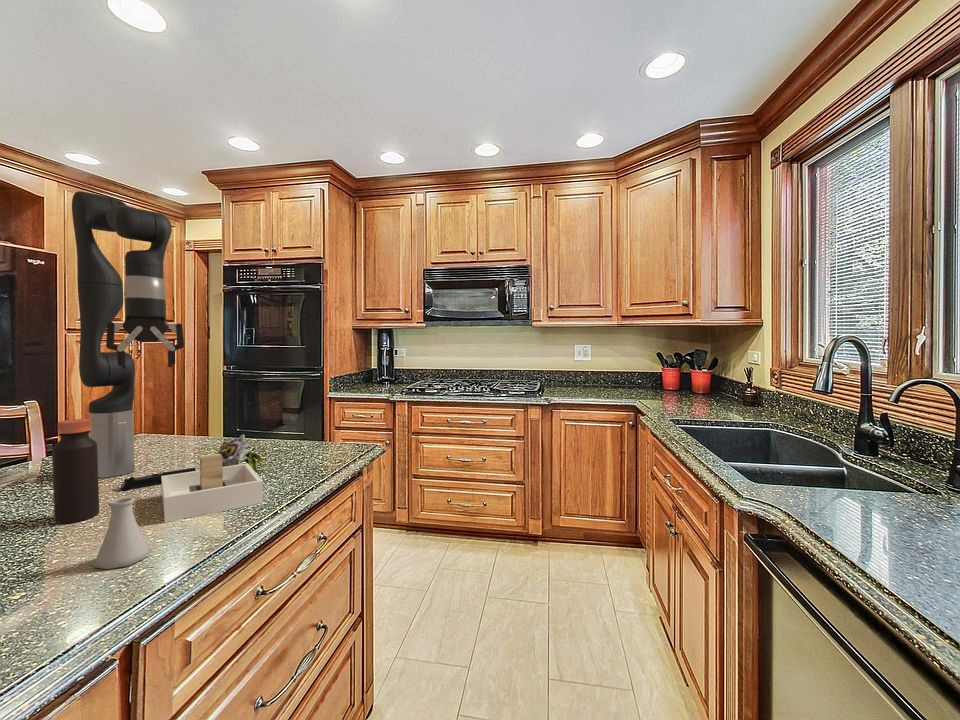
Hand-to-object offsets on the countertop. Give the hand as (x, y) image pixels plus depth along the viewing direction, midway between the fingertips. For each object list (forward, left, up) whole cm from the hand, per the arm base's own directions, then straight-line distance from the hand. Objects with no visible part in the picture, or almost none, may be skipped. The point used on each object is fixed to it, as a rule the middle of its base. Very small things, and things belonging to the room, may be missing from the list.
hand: (147, 367), depth 102 cm
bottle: (+7, -12, -30) cm, 33 cm away
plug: (+12, +11, -29) cm, 33 cm away
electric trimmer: (-10, +2, -31) cm, 32 cm away
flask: (+35, -4, -30) cm, 47 cm away
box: (+12, +11, -30) cm, 34 cm away
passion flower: (-11, +20, -30) cm, 38 cm away
